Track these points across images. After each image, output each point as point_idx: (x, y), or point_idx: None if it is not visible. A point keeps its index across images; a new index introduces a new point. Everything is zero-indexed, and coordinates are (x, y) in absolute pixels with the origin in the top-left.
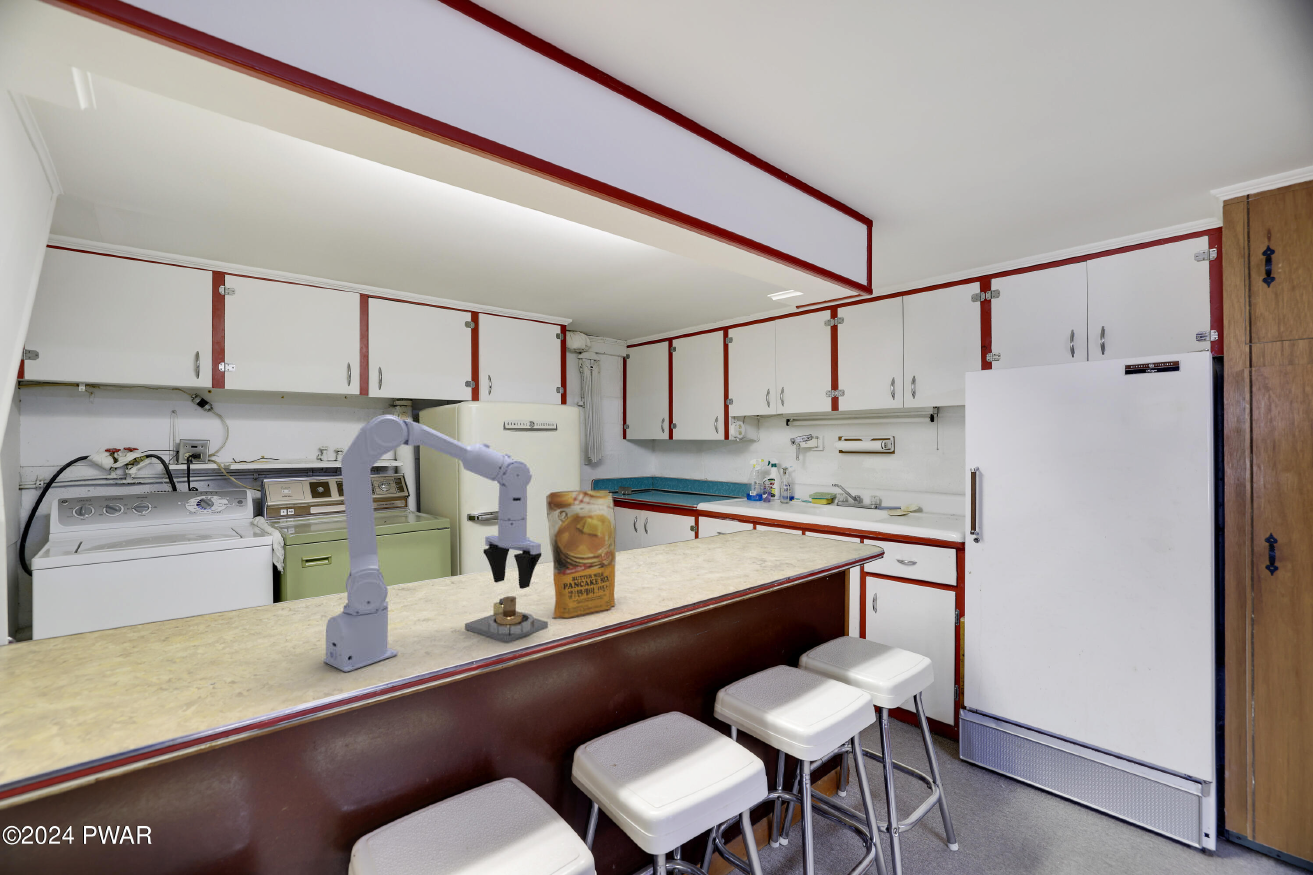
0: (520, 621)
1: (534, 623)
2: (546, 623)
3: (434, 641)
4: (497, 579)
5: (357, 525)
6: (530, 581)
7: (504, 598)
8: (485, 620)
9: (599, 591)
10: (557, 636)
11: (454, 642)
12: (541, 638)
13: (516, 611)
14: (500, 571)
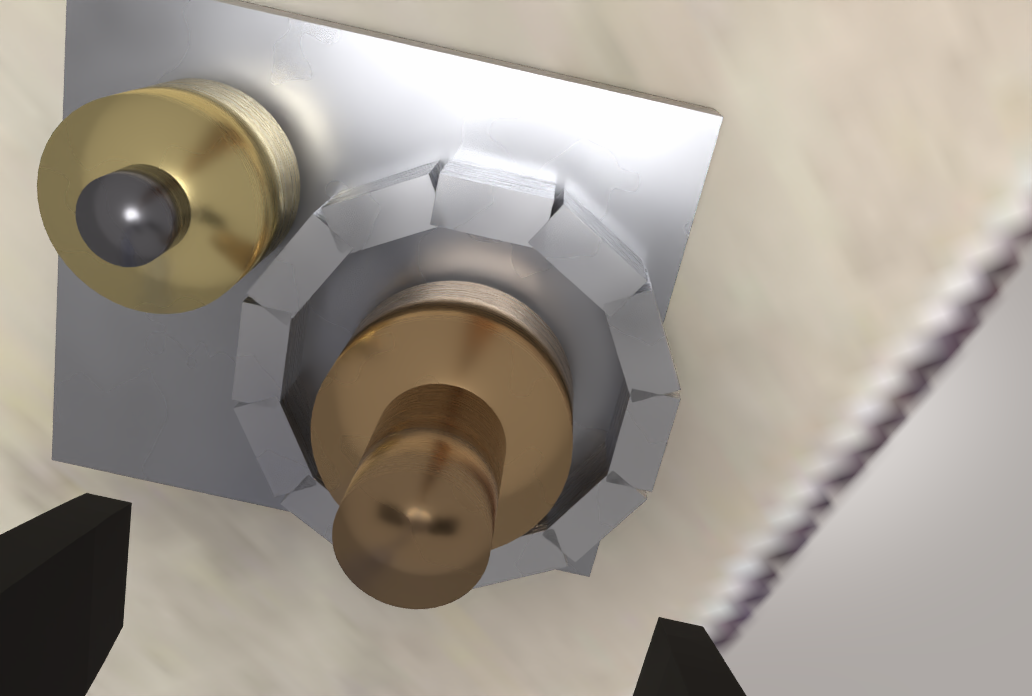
0: (572, 414)
1: (620, 222)
2: (713, 132)
3: (94, 681)
4: (102, 636)
5: None
6: (731, 675)
7: (370, 578)
8: (140, 331)
9: None
10: (915, 281)
11: (227, 653)
12: (796, 372)
13: (436, 328)
14: (37, 664)
